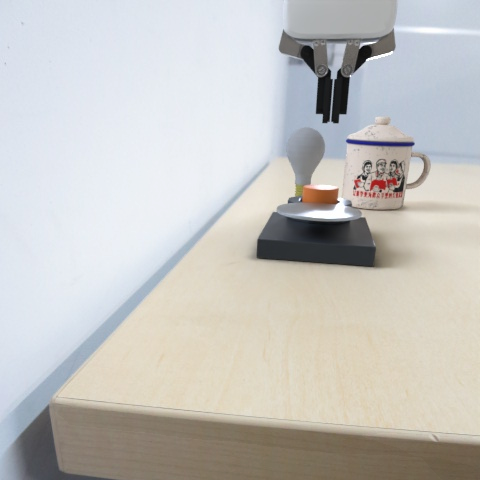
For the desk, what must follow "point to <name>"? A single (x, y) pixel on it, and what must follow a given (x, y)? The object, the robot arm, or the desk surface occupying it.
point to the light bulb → (304, 155)
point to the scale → (317, 239)
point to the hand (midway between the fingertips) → (330, 122)
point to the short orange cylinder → (320, 194)
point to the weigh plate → (319, 211)
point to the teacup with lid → (380, 166)
